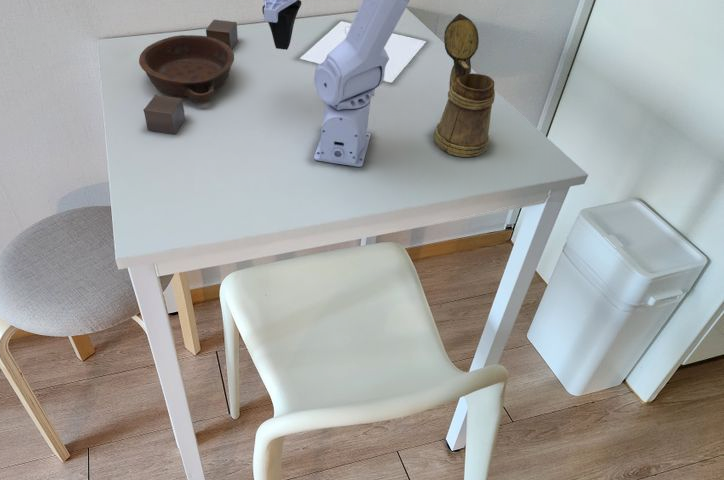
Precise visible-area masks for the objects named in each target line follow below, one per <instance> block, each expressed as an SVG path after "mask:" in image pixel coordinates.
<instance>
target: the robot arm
mask: <svg viewBox="0 0 724 480" xmlns="http://www.w3.org/2000/svg"><path fill="white" fill-rule="evenodd" d="M410 1H411V0H362V1H361V2H360V5H359V7H358V10H357V12H356V14H355V17H354V18H353V21H352V22H353V23H352V22H351V23H352V25H351V28H350V30H349V32H348V34H347V36H346V38H345V40H344V41H342V42H341V43H340V44H339V45H338V46H337V47H335V48H334V49H333V50H332V51H331V52H329V53H328V55H327V57H326V59H325V61H324V62H322V63H320V64H317V66H316V67H315V69H314V73H313V84H314V88H315V91H316V93H317V95H318V97H319V98H320V99H321V101H323V117H322V118H323V119H322V125H321V129H320V130H321V132H320V140H319V142H318V145H317V146H316V147H317V148H316V151H315V152H314V156H313V160H314V161H318V162H323V163H324V162H325V163H331V164H338V165H345V166H350V167H356V168H361V167H363V166H364V162H365V158H366V154H367V150H368V147H369V143H370V140H371V136H372V135H371V133H370V132H368V125H369V115H370V106H371V99H372V97H374V96H375V93H376V89H377V88H379V87H381V86H382V84H383V82H384V81H383V80H384V73H385V67H386V64H387V62H388V61H389V57H388V55H387V53H386V50H385V49H384V47H385V45H386V43H387V41H388V40H389V38H390V36H391V34H392V33H393V32H394V30H395V29H396V26H397V25H398V23H399V21H400V19H401V18H402V15H404V12H405V10H406V8H407V7H408V5H409V3H410ZM301 6H302V1H301V0H263V5H262V8H261V9H262V10H261V11H262V15H263V21H264V22H267V23H268V26H269V29H270V32H271V36H272V40H273V44H274V47H275V49H276V50H284V51H286V50H288V49H289V47H290V45H291V41H292V36H293V31H294V25H295V21H296V18H297V15H298V12H299V10H300V8H301Z"/></svg>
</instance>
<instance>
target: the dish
mask: <svg viewBox="0 0 724 480" xmlns="http://www.w3.org/2000/svg"><path fill="white" fill-rule="evenodd" d="M233 51H234V50H233V49H232V50H231V48H230V47H229V46H228V45H226V44H225V43H223V42H222V41H219V40H217V39H214V38H211V37H207V36H206V35H193V34H187V35H186V34H185V35H184V34H181V35H173V36H170V37H165V38H163V39H160V40H157V41H155V42H153V43H151V44H149V45H148V46H146V47H145V48H144V50H142V52H141V53H140V55H139V57H138V64H139V66H140V68H141V69H142V70H143V71H144V73H145V74H146V75H147V77H148V80H149V81H150V82H151V84H152V85H153V86H154V87H155V88H156V89H157V90H159V91H162V92H163V93H166V94H170V95H174V96H180V97H188V99H189V100H191V101H193V102H196V103H199V104H201V103H206V102H209V101H210V100H211V99H212V98H213V95H214V92H215V91H217V90H218V89H219V90H220V88H222V87H223V86H224V84H225V83H226V82H227V80H228V78H229V75H230V73H231V68H232V65H233V64H234V61H235V53H234V52H233Z"/></svg>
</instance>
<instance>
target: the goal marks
mask: <svg viewBox="0 0 724 480" xmlns="http://www.w3.org/2000/svg"><path fill="white" fill-rule="evenodd" d="M205 33H206V34H205V36H207V37H211V38H214V39H217V40H219V41H222V42H223V43H225V44H226V45H228V46H229V47H230V48H231V50H232V51H233V49H234V48H235V46H236V45H237V43H238V42H239V38H238V35H239V34H238V23H237V21H230V20H221V19H212V21H211V23H209V25H208V27H207V28H206V29H205ZM143 115H144V118H145V124H146V128H147V131H150V132H158V133H164V134H169V135H176V133H177V132H178V131H179V129H180V127H181V126H182V125H183V123H184V122H185V120H186V116H185V115H186V114H185V108H184V101H183V98H181V97H173V96H166V95H160V94H159V95H158V94H155V95H154V96H153V97H152V98H151V100H150V101H149V102H148V103H147V105H145V107H144V109H143Z"/></svg>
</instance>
